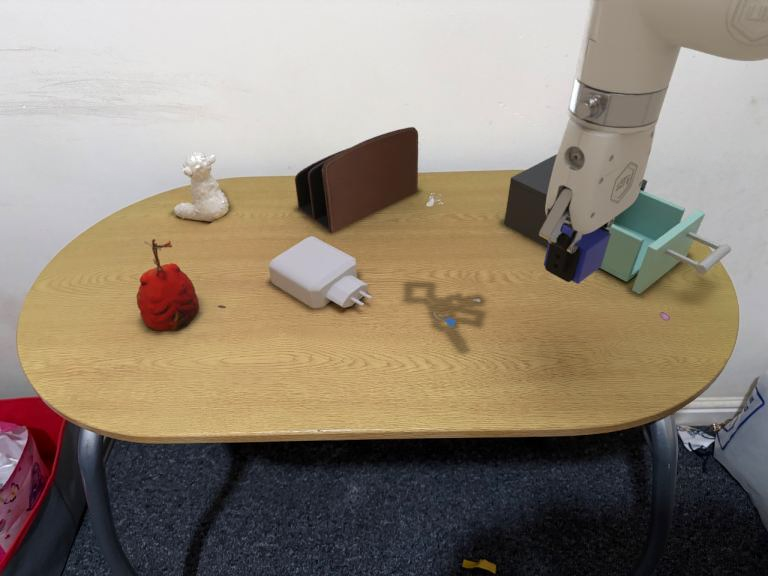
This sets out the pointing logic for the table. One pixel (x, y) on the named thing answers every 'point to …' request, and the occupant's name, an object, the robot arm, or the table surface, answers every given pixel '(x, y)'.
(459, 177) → the table surface
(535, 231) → the housing
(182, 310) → the red lumpy rounded piece
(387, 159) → the letter holder
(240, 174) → the table surface
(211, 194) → the sitting furry creature
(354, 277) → the charger
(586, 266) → the cube
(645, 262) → the mint green drawer
